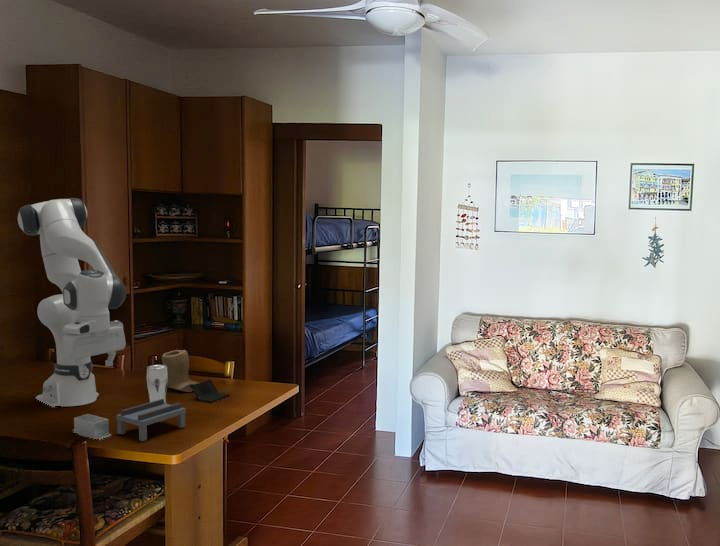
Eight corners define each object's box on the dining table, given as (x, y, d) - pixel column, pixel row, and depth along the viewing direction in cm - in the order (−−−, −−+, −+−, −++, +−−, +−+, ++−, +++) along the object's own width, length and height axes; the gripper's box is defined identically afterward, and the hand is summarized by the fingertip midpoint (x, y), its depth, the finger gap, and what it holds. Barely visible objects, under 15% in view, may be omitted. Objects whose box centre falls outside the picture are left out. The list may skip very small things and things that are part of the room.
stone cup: (156, 388, 269) (156, 349, 268) (184, 383, 277) (183, 345, 276) (177, 396, 258) (176, 356, 257) (205, 390, 267) (204, 351, 265)
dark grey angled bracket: (216, 399, 249) (202, 375, 251) (202, 410, 250) (188, 386, 253) (232, 396, 260) (218, 373, 262) (218, 406, 261) (204, 383, 264)
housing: (71, 432, 216) (70, 416, 216) (85, 428, 221) (85, 412, 220) (98, 440, 209) (97, 423, 209) (112, 436, 213) (111, 419, 213)
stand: (116, 434, 215) (116, 410, 215) (160, 420, 229) (159, 397, 229) (142, 441, 209) (142, 416, 208) (185, 426, 223) (185, 403, 222)
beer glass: (146, 408, 243) (145, 365, 242) (166, 406, 246) (166, 363, 244) (148, 413, 237) (147, 369, 235) (169, 411, 239) (169, 368, 238)
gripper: (115, 318, 223) (117, 361, 224) (58, 328, 205) (60, 374, 207) (129, 320, 219) (130, 363, 221) (71, 329, 202) (73, 377, 203)
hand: (96, 369), depth 214 cm, fingers open, 8 cm apart
